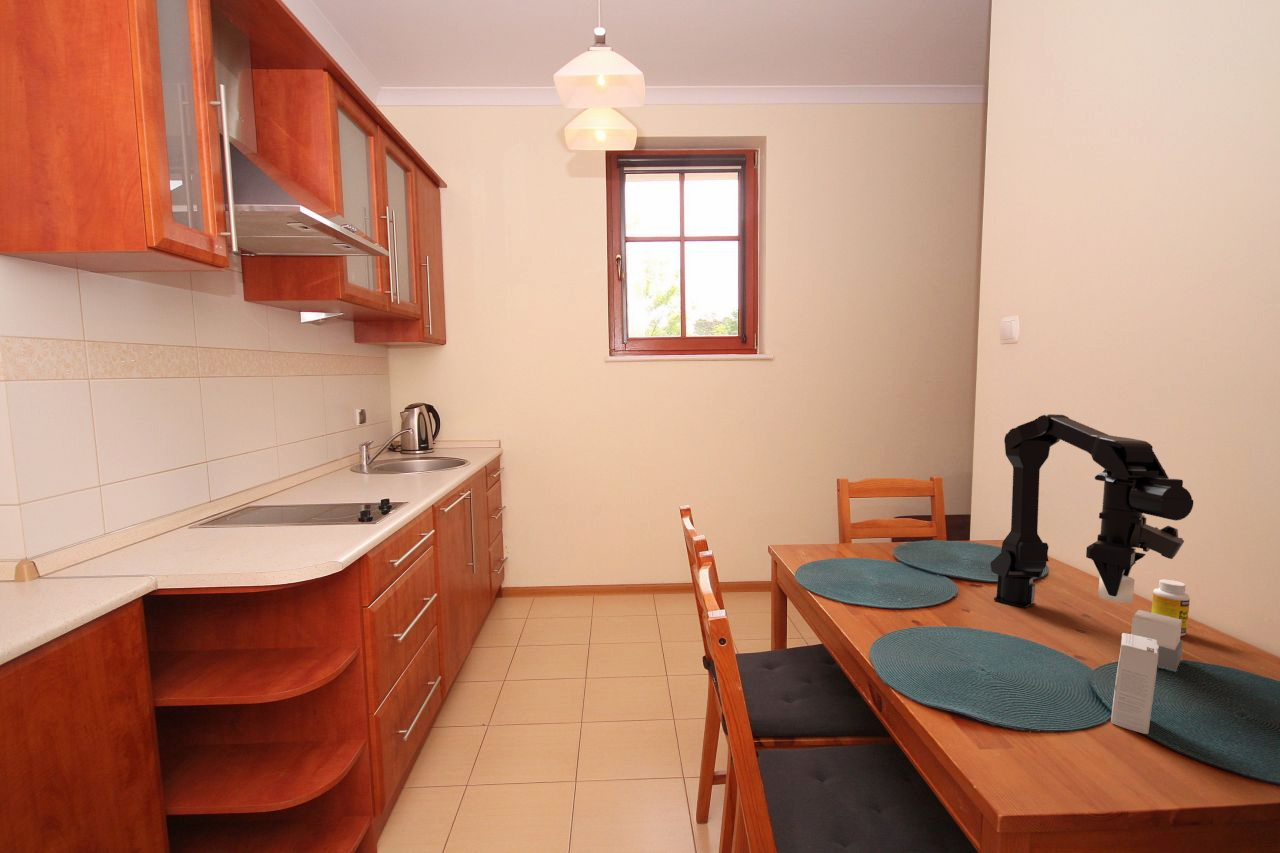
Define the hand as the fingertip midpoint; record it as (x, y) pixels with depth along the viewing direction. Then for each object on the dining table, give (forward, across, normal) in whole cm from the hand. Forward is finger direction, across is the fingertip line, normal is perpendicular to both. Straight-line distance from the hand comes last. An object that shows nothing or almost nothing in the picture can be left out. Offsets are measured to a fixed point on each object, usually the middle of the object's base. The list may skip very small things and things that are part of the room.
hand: (1115, 592), depth 110 cm
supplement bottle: (+11, +23, -5) cm, 26 cm away
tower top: (+8, +2, -6) cm, 10 cm away
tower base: (+12, +3, -6) cm, 13 cm away
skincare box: (+12, -27, -7) cm, 31 cm away
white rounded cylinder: (+1, 0, 0) cm, 1 cm away
